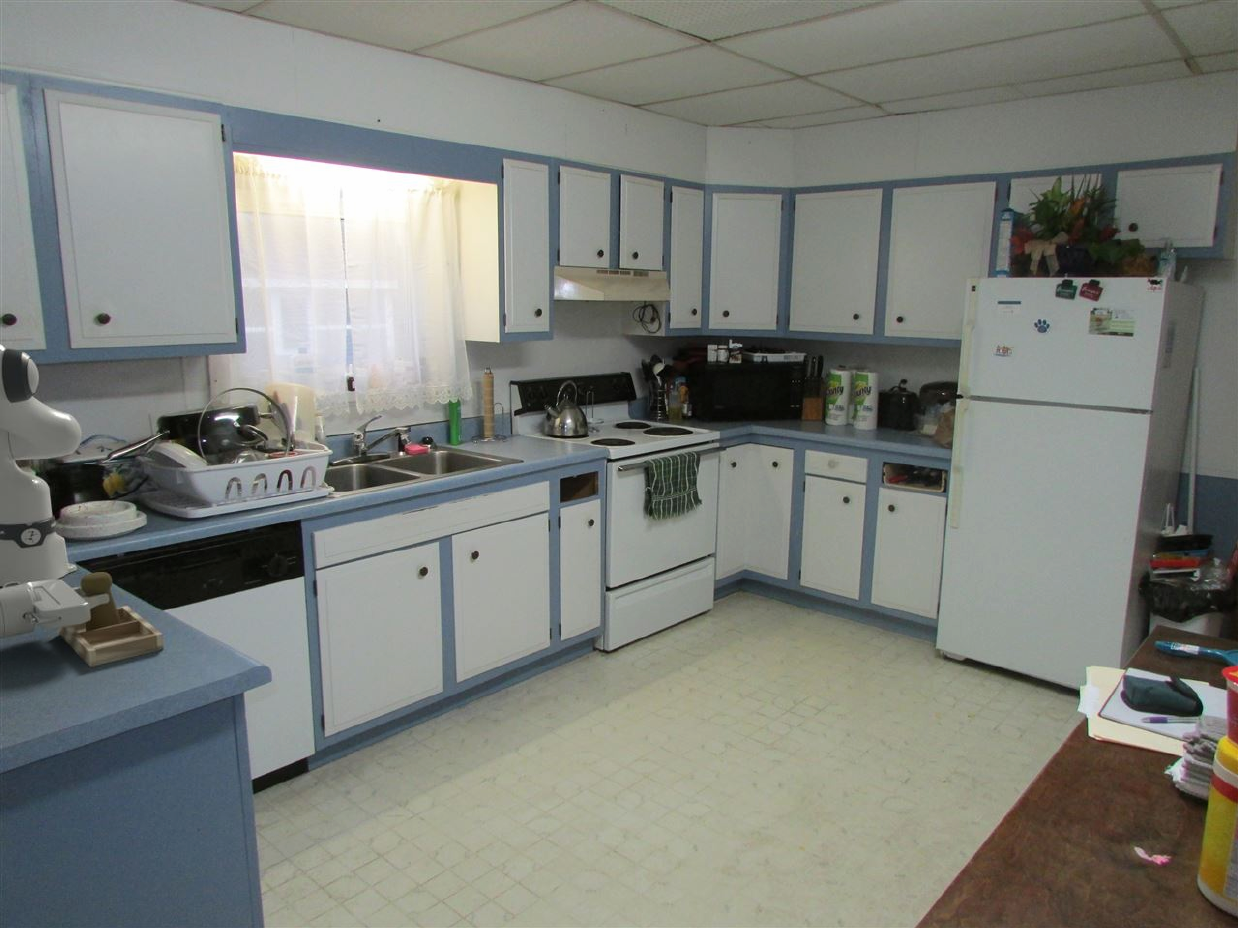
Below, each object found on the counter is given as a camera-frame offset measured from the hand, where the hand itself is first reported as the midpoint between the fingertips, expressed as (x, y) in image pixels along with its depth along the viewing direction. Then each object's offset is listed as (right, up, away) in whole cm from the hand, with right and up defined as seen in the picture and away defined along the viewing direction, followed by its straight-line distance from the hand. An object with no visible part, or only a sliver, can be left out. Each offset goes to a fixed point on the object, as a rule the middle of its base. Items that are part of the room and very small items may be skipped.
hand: (104, 593), depth 164 cm
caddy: (+3, -9, -3) cm, 10 cm away
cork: (-1, -7, +1) cm, 7 cm away
